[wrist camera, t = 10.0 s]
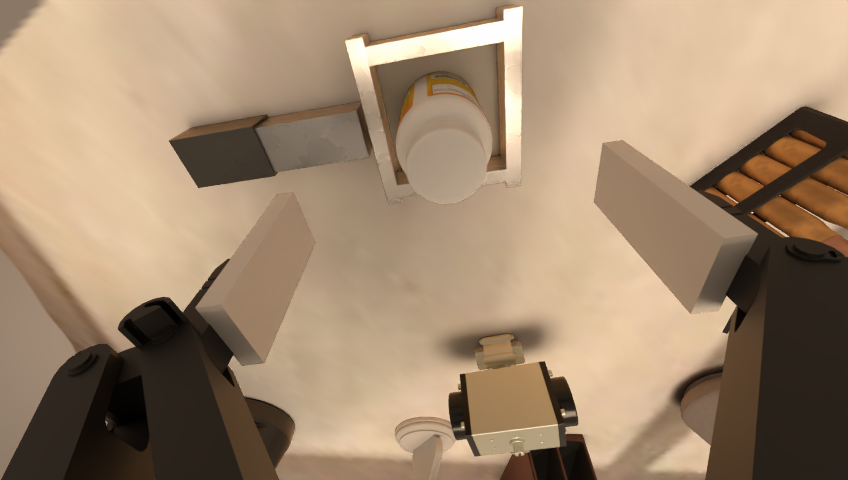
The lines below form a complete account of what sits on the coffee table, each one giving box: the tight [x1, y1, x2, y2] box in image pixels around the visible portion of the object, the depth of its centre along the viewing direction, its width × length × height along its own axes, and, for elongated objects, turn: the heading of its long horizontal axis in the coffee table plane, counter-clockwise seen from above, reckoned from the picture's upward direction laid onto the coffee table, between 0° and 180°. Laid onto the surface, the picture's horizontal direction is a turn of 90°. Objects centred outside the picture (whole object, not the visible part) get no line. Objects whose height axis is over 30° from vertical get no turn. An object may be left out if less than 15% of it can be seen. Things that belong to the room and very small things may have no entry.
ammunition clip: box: [690, 107, 848, 257], centre depth 22 cm, size 11×2×12 cm, turn 142°
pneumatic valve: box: [449, 334, 578, 456], centre depth 35 cm, size 6×12×12 cm, turn 106°
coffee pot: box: [680, 372, 723, 445], centre depth 42 cm, size 21×12×15 cm, turn 151°
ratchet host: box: [169, 5, 522, 205], centre depth 24 cm, size 24×11×3 cm, turn 99°
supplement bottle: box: [396, 72, 493, 204], centre depth 20 cm, size 5×5×10 cm
